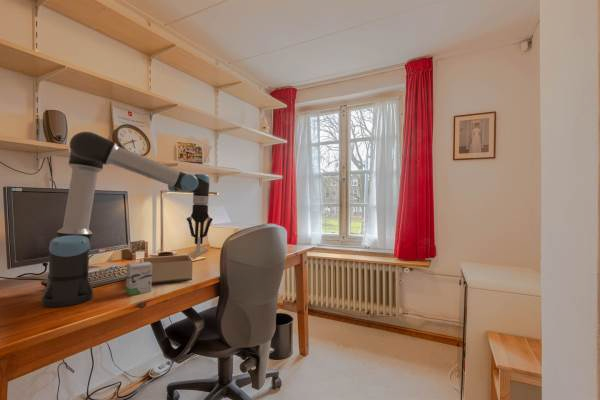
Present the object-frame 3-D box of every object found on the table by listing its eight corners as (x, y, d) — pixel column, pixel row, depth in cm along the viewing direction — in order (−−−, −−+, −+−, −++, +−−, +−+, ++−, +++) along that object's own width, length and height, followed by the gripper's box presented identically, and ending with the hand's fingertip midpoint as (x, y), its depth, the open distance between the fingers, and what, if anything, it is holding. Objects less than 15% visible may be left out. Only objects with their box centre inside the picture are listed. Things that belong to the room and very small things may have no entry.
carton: (134, 287, 125) (134, 266, 125) (134, 275, 144) (135, 257, 144) (193, 281, 137) (193, 261, 137) (186, 271, 156) (186, 253, 156)
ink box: (128, 295, 115) (129, 265, 115) (125, 292, 119) (126, 263, 119) (152, 291, 121) (152, 263, 121) (148, 288, 125) (149, 261, 125)
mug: (180, 271, 155) (181, 253, 155) (167, 274, 149) (167, 255, 149) (167, 268, 162) (168, 251, 162) (154, 270, 155) (154, 253, 155)
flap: (192, 258, 141) (207, 249, 144) (188, 253, 153) (202, 245, 156) (193, 259, 141) (208, 250, 144) (188, 254, 153) (202, 246, 156)
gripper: (188, 204, 142) (185, 252, 142) (214, 205, 149) (212, 251, 148) (186, 203, 149) (183, 249, 149) (211, 204, 155) (209, 248, 155)
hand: (198, 250), depth 148 cm, fingers closed
